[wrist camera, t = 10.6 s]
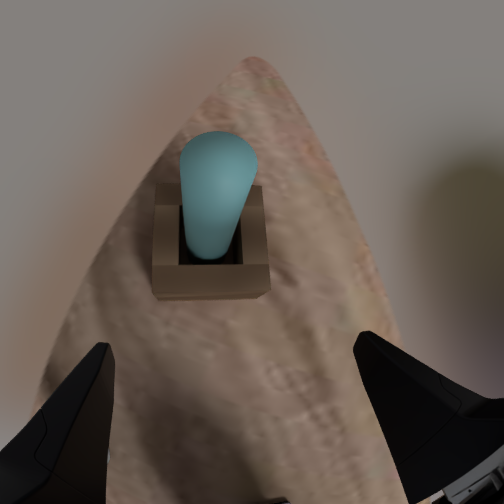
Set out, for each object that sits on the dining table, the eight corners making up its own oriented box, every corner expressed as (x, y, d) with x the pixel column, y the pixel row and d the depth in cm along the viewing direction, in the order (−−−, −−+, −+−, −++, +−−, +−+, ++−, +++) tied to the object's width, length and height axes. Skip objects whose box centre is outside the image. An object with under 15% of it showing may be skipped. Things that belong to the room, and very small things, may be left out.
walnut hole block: (256, 298, 24) (271, 289, 20) (158, 301, 22) (151, 292, 18) (249, 210, 26) (261, 185, 22) (160, 209, 24) (156, 183, 20)
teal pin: (226, 269, 23) (260, 195, 11) (187, 270, 23) (178, 195, 10) (225, 232, 24) (254, 132, 12) (187, 233, 24) (181, 131, 11)
